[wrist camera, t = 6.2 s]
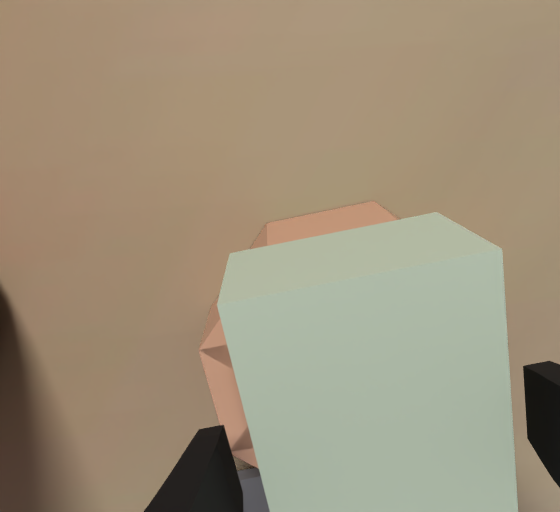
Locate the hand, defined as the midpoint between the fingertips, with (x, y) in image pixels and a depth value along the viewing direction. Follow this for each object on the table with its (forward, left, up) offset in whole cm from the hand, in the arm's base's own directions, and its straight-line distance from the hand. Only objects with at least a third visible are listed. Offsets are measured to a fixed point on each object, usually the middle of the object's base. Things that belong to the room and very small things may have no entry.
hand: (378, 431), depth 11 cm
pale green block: (0, 0, -2) cm, 3 cm away
